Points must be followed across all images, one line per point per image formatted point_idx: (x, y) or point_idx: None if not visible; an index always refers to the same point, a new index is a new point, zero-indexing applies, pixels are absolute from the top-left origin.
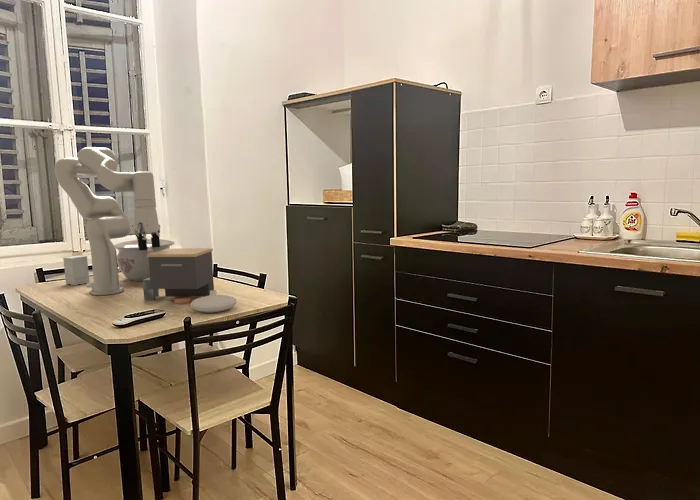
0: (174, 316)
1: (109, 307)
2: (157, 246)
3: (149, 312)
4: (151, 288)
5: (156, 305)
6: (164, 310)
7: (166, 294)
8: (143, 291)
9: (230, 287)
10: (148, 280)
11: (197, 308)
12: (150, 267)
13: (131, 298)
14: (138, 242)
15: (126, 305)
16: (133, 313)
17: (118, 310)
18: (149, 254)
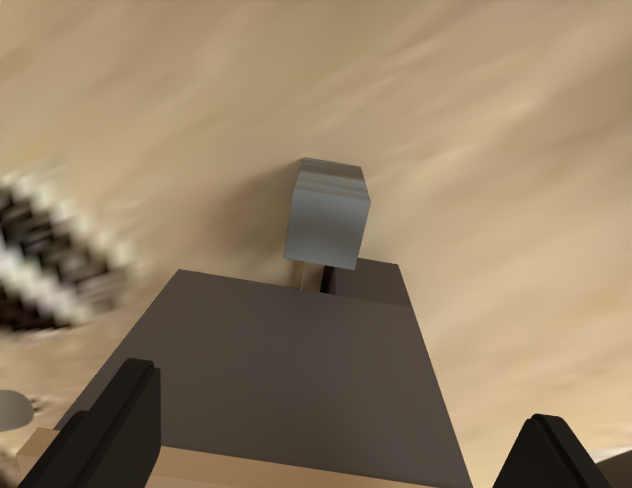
0: (34, 366)
1: (138, 11)
2: (501, 483)
3: (71, 266)
4: (177, 272)
5: (191, 256)
6: (110, 312)
7: (333, 268)
8: (300, 169)
9: (505, 453)
10: (287, 231)
11: None
12: (111, 363)
13: (363, 55)
14: (42, 482)
15: (188, 101)
16: (43, 204)
17: (82, 103)
18: (21, 471)
